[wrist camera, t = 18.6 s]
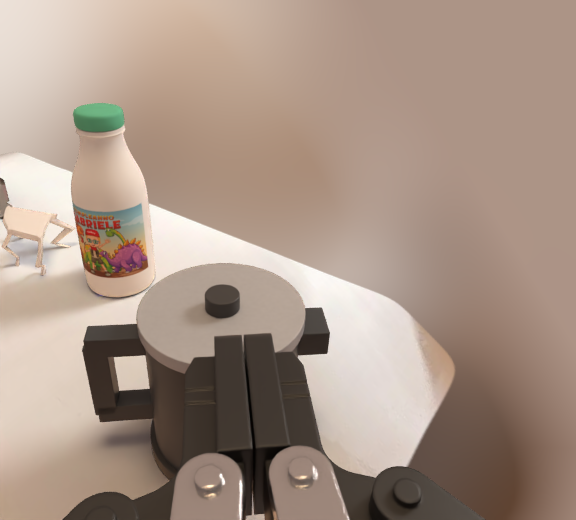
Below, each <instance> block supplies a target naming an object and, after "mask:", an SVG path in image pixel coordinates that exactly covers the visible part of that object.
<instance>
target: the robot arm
mask: <svg viewBox="0 0 576 520" xmlns="http://www.w3.org/2000/svg"><path fill="white" fill-rule="evenodd" d="M214 352H215V356H210V357H194V358H193V360H192V362H191V364H190V365H189V367H188V369H187V370H186V372H185V393H184V415H183V441H182V459H181V463H180V467H179V469H178V471H177V472H176V474H175V475H174V477H173V478H172V479H171V480H170V481H169V482H168V483H167V484H165V485H164V486H163V487H161V488H160V489H158V490H156V491H154V492H152V493H149V494H147V495H144V496H142V497H140V498H137V499H135V500H131V499H130V498H129V497H127V496H125V495H123V494H121V493H117V492H103V493H98V494H96V495H93V496H91V497H89V498H87V499H85V500H83V501H82V502H81V503H79V504H78V505H77V506H76V507H75V508H74V509H73V510H72V511H71V512H70V513H69V514H68V515H67V516H66V517H65V518H64V519H63V520H246V516H247V515H252V492H253V503H254V515H255V514H264V515H265V520H485V519H484V518H482V517H481V516H480V515H478V514H477V513H475V512H474V511H473V510H471V509H470V508H469V507H467V506H466V505H465V504H463V503H462V502H461V501H459V500H458V499H456V498H455V497H454V496H452V495H451V494H450V493H448V492H447V491H445V490H444V489H443V488H441V487H440V486H438V485H437V484H436V483H435V482H433V481H432V480H430V479H429V478H428V477H426V476H425V475H424V474H422V473H420V472H419V471H417V470H414V469H411V468H408V467H403V466H396V467H391V468H388V469H385V470H384V471H382V472H381V473H380V474H379V475H378V476H377V477H376V478H374V477H370V476H365V475H360V474H356V473H352V472H348V471H346V470H344V469H342V468H340V467H338V466H337V465H336V464H334V463H333V462H332V461H331V460H330V459H329V458H328V457H327V455H326V454H325V452H324V450H323V448H322V445H321V441H320V436H319V432H318V427H317V423H316V419H315V414H314V410H313V406H312V401H311V397H310V393H309V388H308V384H307V379H306V375H305V371H304V366H303V364H302V363H301V362H300V360H299V359H298V358H297V357H296V356H295V354H294V353H293V352H275V350H274V344H273V339H272V334H271V333H260V334H244V338H243V342H242V335H225V336H214Z"/></svg>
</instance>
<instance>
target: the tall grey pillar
mask: <svg viewBox="0 0 576 520" xmlns="http://www.w3.org/2000/svg"><path fill="white" fill-rule="evenodd" d="M8 201H9V198H8V194H7V190H6V186H5V183H4V180H3V179H1V178H0V218H1V217H4V212H5V209H6V207H7V206H8V205H9V206H10V207H12V206H11V205H10V204H8V203H7V202H8Z"/></svg>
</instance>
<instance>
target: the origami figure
mask: <svg viewBox="0 0 576 520" xmlns="http://www.w3.org/2000/svg"><path fill="white" fill-rule="evenodd" d="M56 217H57V214H50V213H44V212H38V211H32V210H26V209H21V208H15V207H10V206H9V205H8V206H7V207H6V209H5V212H4V217H3V223H4V226H5V228H6V229H7V233H8V235H7V237H6V239H5V241H4V243H3V245H2V247H3V248H4V249H5V250H7V251H8V252H9V253H11V254H12V255H13V256H15V257H16V258H17V260H16V264H15V265H16V266H19V257H18V256H17V255H16V254H15V253H14V252H13V251H11V250H10V249H9V248H8V247H7V245H8V242H9V240H10V238H11V236H12V235H14V236H17V237H20V238H26V239H30V240H34V241H38V242H39V243H38V255H37V260H36V265H35V267H37V268H39V267H42V269H41V275H42V276H43V275H45V274H46V265H42V256H43V238H44V235H45V230H46V228H47V226H48V224H49V222H50V223H52V224H55V225H57V226H60V227H63V228H65V229H64V230H63V231H62V232H61V233H60V234H59V235H58V236H57V237H56V238H55V239H54V240H53V241H52V242H51V243H52V244H55V245H59V246H63V247H68V248H69V247H71V246H67V245H63V244H59V243H57V242H58V241H60V240H61V239H62V238H64V237H65V236H66V235H68V234H69V233H70V232H72V231H73V230H74V229H76V228H74V227H72V226H70V225H68V224H66V223H64V222H62V221H60V220H58V219H56Z"/></svg>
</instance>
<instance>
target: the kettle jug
mask: <svg viewBox="0 0 576 520" xmlns="http://www.w3.org/2000/svg"><path fill="white" fill-rule="evenodd" d="M136 320H137V324H127V325H106V326H88V327H87V330H86V334H85V338H84V341H83V342H84V346H83V349H82V352H83V356H84V361H85V366H86V371H87V375H88V380H89V385H90V390H91V394H92V399H93V404H94V409H95V413H96V415H99V419H100V422H110V421H123V420H137V419H151V418H153V420H152V424H151V444H152V451H153V455H154V458H155V461H156V463H157V465H158V467H159V468H160V470H161V471H162V472H163V474H164V475H165V476H166V477H167V478H168V479H169V480H171V479H172V478H173V477H174V475H175V474H176V472H177V471H178V469H179V467H180V463H181V459H182V441H183V415H184V393H185V372H186V370H187V369H188V367H189V365H190V364H191V362H192V360H193V358H194V357H210V356H215V352H214V336H225V335H242V342H243V338H244V334H260V333H271V334H272V339H273V344H274V350H275V352H293V353H294V354H295V356H296V357H297V358H298V355H313V354H327V352H328V344H329V336H330V332H329V329H328V326H327V322H326V319H325V316H324V313H323V310H322V308H305V305H304V303H303V300H302V298H301V296H300V294H299V293H298V292H297V290H296V289H295V288H294V287H293V286H292V285H291V284H290V283H289V282H287V281H286V280H284V279H283V278H281V277H280V276H278V275H276V274H274V273H272V272H269V271H267V270H264V269H261V268H258V267H253V266H249V265H242V264H232V263H217V264H206V265H200V266H195V267H191V268H187V269H184V270H181V271H178V272H176V273H173V274H171V275H169V276H167V277H165V278H164V279H162V280H161V281H159V282H158V283H156V284H155V285H154V286H153V287H152V288H151V289H150V290H149V291H148V292H147V293H146V294H145V295H144V297H143V298H142V300H141V302H140V304H139V307H138V310H137V319H136ZM140 355H146V362H147V370H148V378H149V386H150V389H142V390H126V391H119V387H118V381H117V375H116V369H115V363H114V357H122V356H140Z"/></svg>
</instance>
